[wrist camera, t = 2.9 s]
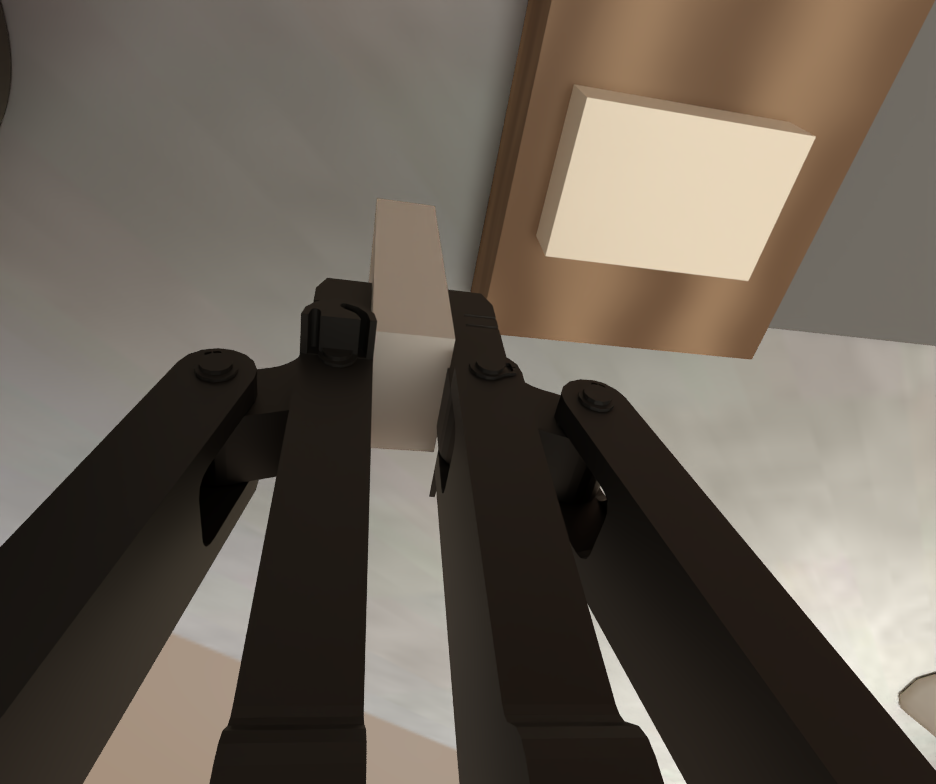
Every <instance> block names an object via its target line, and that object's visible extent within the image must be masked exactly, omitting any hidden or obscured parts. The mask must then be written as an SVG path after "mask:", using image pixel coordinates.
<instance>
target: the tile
mask: <svg viewBox="0 0 936 784" xmlns="http://www.w3.org/2000/svg"><path fill="white" fill-rule="evenodd" d="M815 138H816V136H814V135H812V134H810V133H809V132H807V131H805V130H803V129H801V128H800V127H798V126H796V125H794V124H792V123H790V122H786V121H781V120H775V119H769V118H764V117H758V116H752V115H746V114H741V113H735V112H729V111H724V110H718V109H712V108H706V107H701V106H695V105H689V104H683V103H678V102H672V101H666V100H661V99H655V98H649V97H643V96H638V95H632V94H626V93H620V92H615V91H609V90H603V89H598V88H592V87H586V86H580V85H575V84H574V86H573V90H572V94H571V98H570V102H569V106H568V110H567V114H566V118H565V122H564V126H563V130H562V134H561V138H560V142H559V146H558V150H557V154H556V158H555V162H554V166H553V170H552V174H551V178H550V182H549V186H548V190H547V194H546V198H545V202H544V206H543V210H542V214H541V218H540V222H539V226H538V230H537V234H536V237H537V239H538V241H539V243H540V245H541V248H542V250H543V252H544V254H545V256H548V257H557V258H565V259H573V260H581V261H589V262H597V263H605V264H614V265H622V266H630V267H638V268H646V269H654V270H663V271H671V272H679V273H687V274H695V275H703V276H711V277H720V278H728V279H736V280H744V281H749V279H750V276H751V274H752V272H753V270H754V268H755V266H756V264H757V262H758V259H759V257H760V255H761V253H762V251H763V249H764V247H765V244H766V242H767V240H768V238H769V236H770V234H771V232H772V229H773V227H774V225H775V223H776V221H777V219H778V217H779V215H780V212H781V210H782V208H783V206H784V204H785V202H786V200H787V197H788V195H789V193H790V191H791V189H792V187H793V185H794V183H795V180H796V178H797V176H798V174H799V172H800V170H801V168H802V165H803V163H804V161H805V159H806V157H807V155H808V153H809V150H810V148H811V146H812V144H813V142H814V140H815Z"/></svg>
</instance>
